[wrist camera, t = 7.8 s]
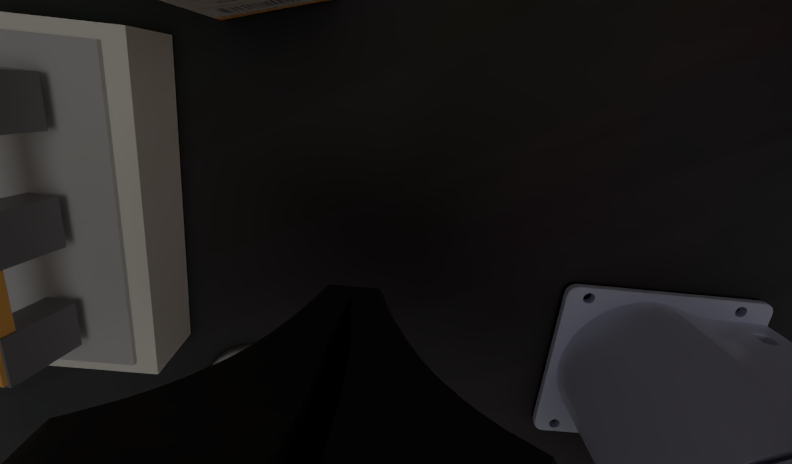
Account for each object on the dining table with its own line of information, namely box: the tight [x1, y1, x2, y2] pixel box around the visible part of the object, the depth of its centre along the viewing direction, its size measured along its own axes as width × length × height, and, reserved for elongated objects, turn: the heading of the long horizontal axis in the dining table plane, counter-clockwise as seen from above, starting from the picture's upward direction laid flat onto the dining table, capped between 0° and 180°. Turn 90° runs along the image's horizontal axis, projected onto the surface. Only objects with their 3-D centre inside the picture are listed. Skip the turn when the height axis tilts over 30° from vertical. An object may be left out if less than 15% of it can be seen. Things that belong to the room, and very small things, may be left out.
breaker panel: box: [0, 12, 191, 374], centre depth 17 cm, size 6×13×3 cm, turn 174°
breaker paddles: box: [0, 67, 82, 388], centre depth 14 cm, size 1×10×3 cm, turn 174°
